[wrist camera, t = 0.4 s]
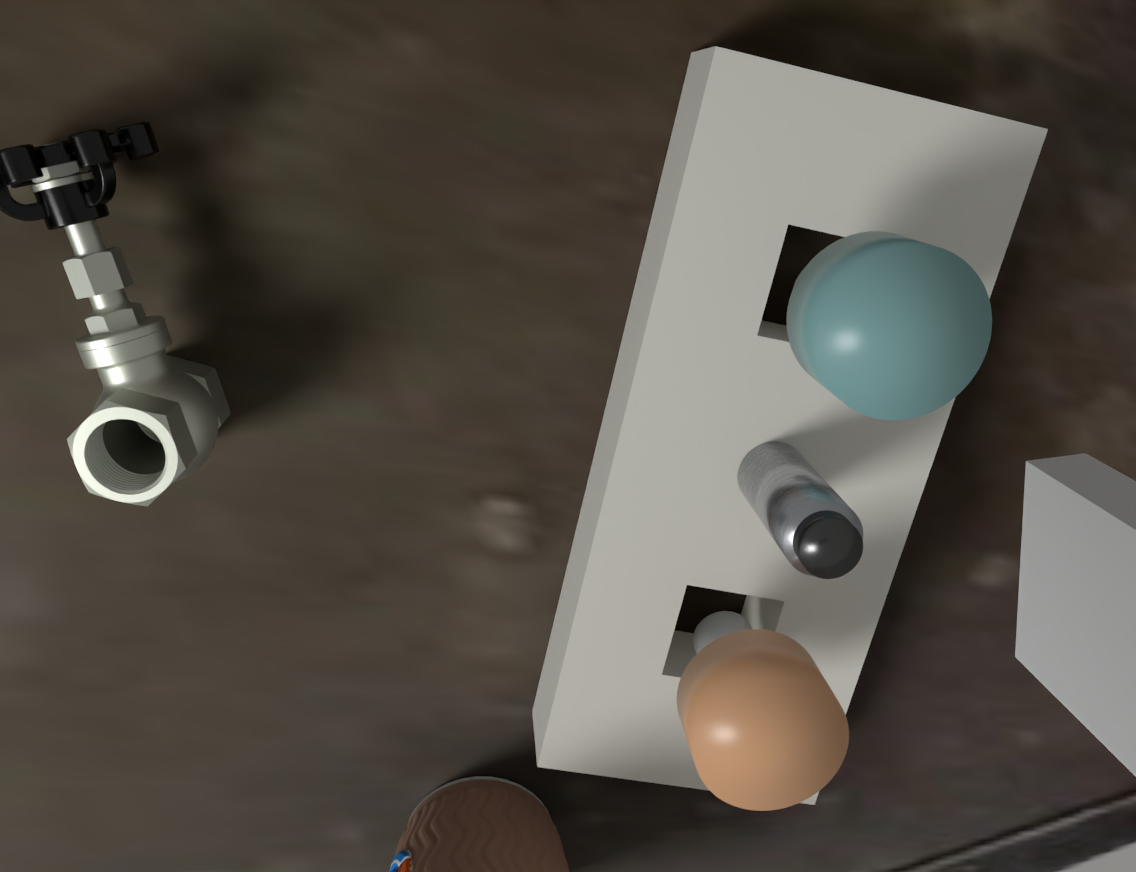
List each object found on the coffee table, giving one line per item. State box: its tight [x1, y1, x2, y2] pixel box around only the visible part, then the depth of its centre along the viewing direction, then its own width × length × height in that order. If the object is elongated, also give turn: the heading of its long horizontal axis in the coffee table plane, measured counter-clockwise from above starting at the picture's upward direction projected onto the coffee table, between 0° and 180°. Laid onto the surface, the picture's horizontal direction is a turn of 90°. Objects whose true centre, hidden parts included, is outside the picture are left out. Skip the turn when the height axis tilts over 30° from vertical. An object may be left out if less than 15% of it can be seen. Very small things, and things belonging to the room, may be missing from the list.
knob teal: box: [786, 231, 992, 420], centre depth 32 cm, size 5×5×7 cm
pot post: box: [737, 442, 863, 579], centre depth 35 cm, size 3×3×7 cm
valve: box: [0, 122, 231, 506], centre depth 35 cm, size 7×7×12 cm
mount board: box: [532, 46, 1048, 805], centre depth 40 cm, size 12×28×4 cm, turn 167°
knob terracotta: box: [677, 611, 849, 811], centre depth 36 cm, size 5×5×7 cm
